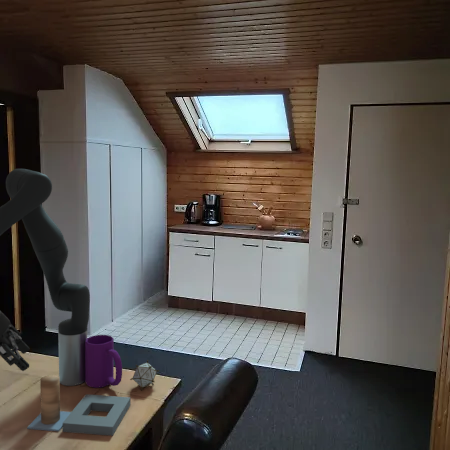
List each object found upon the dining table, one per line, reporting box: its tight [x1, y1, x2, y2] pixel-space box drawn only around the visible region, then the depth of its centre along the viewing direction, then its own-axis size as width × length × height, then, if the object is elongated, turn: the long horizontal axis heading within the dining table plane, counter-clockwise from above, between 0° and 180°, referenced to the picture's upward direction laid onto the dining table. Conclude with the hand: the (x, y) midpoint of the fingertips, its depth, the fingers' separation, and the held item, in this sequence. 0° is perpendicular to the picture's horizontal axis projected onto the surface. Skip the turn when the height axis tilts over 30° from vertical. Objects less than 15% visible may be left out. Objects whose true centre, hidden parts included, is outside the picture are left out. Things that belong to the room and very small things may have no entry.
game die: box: [129, 359, 160, 391], centre depth 147 cm, size 9×8×10 cm
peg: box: [39, 374, 61, 424], centre depth 124 cm, size 5×5×12 cm
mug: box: [85, 334, 123, 389], centre depth 146 cm, size 9×16×15 cm, turn 53°
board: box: [62, 394, 132, 436], centre depth 127 cm, size 16×14×2 cm
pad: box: [27, 410, 72, 432], centre depth 125 cm, size 9×9×1 cm
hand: (26, 359), depth 122 cm, fingers open, 8 cm apart
